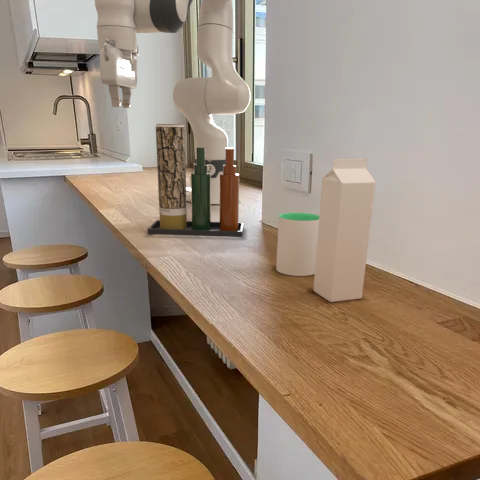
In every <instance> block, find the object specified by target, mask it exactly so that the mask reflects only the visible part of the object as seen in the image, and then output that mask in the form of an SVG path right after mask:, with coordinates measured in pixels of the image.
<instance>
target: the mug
mask: <svg viewBox="0 0 480 480" xmlns="http://www.w3.org/2000/svg"><path fill="white" fill-rule="evenodd" d="M277 223H278V224H277V225H278V227H277V228H278V229H277V243H276V245H277V246H276V263H275V264H276V265H275V270H276V272H277V273H280V274H283V275H288V276H293V277H306V276H313V275H315V264H316V251H317V239H318V226H319V214H314V213H307V212H285V213H281V214H279V215H278V222H277Z"/></svg>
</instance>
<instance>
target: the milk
mask: <svg viewBox="0 0 480 480" xmlns="http://www.w3.org/2000/svg"><path fill="white" fill-rule="evenodd" d="M367 164H368V159H367V158H334V159H333V161H332V169H331V170H330V171H328V173H326V174H325V175H324V177H322V179H321V187H320V188H321V190H320V203H319V213H318V215H319V226H318V239H317V251H316V264H315V274H314V277H313V289H312V290H313V292H314V293H316V294H317V295H319V296H320V297H322V298H323V299H325V300H327V301H328V302H330V303H336V302H337V303H338V302H345V301H352V300H360V299H361V300H362V298H363V291H364V281H365V274H366V273H365V272H366V266H367V256H368V249H369V241H370V233H371V223H372V216H373V215H372V214H373V207H374V198H375V189H376V180H375V179H374V177H373V176H372V175H371V173H370V172H369V171H368V169H367Z"/></svg>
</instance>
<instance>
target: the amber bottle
mask: <svg viewBox="0 0 480 480" xmlns="http://www.w3.org/2000/svg"><path fill="white" fill-rule="evenodd" d="M218 212H219V213H218V214H219V215H218V216H219V217H218V218H219V221H218V222H219V231H238V223H239V219H240V218H239V216H240V214H239V212H240V174H239V173H237V165H236V164H235V148H234V147H228V148H226V163H225V165H223V173H222V174H220V204H219V211H218Z"/></svg>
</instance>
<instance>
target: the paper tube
mask: <svg viewBox="0 0 480 480" xmlns="http://www.w3.org/2000/svg"><path fill="white" fill-rule="evenodd" d="M155 143H156V166H157V167H156V168H157V189H158V192H157V193H158V212H159V220H160V228H161V229H179V230H185V229H186V228H187V221H188V220H187V218H188V216H187V213H188V212H187V209H188V208H187V201H186V197H187V190H186V187H187V164H186V127H185V124H183V123H180V124H179V123H156V124H155Z"/></svg>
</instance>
